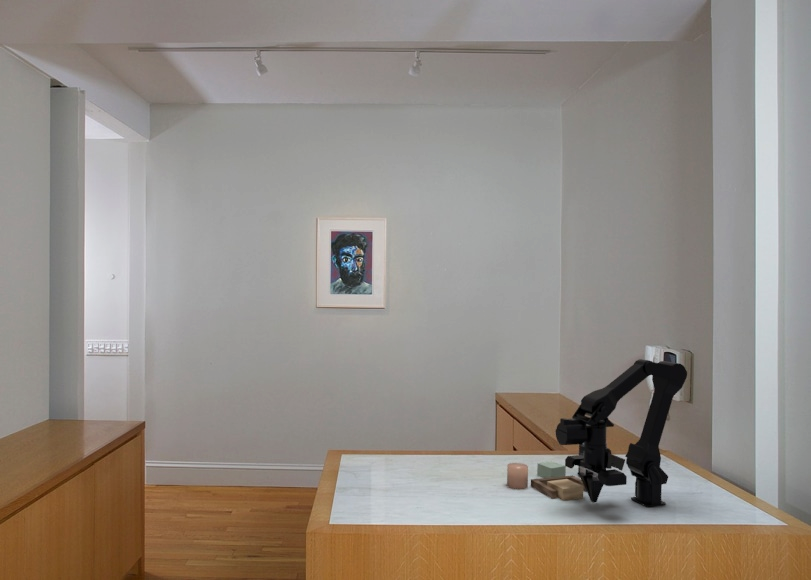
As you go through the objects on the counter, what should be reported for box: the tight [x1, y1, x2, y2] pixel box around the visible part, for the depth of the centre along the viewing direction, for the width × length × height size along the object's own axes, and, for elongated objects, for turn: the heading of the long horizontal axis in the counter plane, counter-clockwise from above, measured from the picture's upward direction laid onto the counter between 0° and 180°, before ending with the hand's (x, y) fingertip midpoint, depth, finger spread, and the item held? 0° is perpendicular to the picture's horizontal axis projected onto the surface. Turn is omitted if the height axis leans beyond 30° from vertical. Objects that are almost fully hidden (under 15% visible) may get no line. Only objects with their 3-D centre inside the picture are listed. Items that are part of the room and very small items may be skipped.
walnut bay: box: [530, 475, 587, 500], centre depth 166 cm, size 11×14×2 cm
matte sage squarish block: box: [536, 460, 567, 478], centre depth 178 cm, size 6×6×4 cm
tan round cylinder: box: [506, 462, 529, 491], centre depth 168 cm, size 6×6×6 cm
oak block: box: [547, 479, 584, 502], centre depth 161 cm, size 7×7×4 cm
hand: (593, 502), depth 152 cm, fingers closed
